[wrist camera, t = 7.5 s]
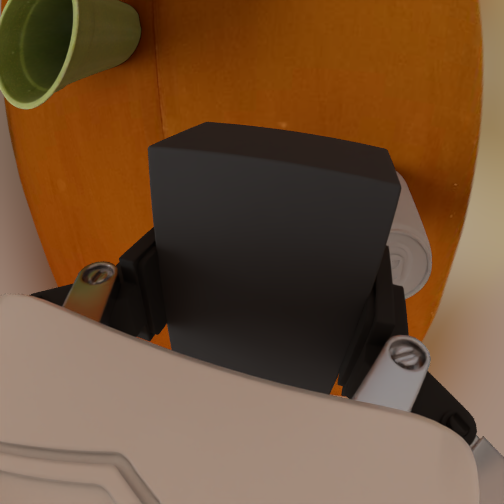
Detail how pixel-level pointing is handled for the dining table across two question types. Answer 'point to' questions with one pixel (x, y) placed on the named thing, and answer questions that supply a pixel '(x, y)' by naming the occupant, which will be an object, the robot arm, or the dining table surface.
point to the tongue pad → (269, 246)
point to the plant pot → (61, 44)
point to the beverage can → (408, 245)
